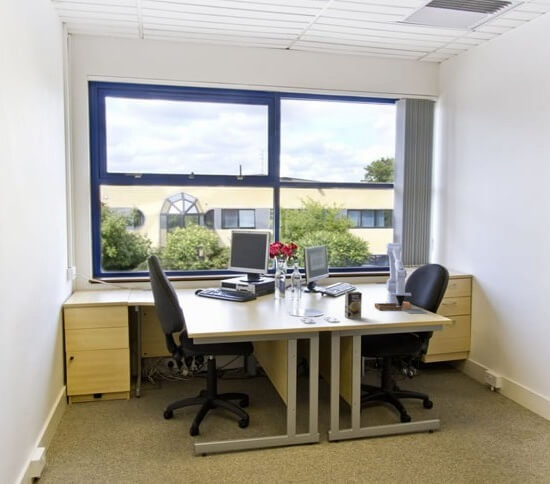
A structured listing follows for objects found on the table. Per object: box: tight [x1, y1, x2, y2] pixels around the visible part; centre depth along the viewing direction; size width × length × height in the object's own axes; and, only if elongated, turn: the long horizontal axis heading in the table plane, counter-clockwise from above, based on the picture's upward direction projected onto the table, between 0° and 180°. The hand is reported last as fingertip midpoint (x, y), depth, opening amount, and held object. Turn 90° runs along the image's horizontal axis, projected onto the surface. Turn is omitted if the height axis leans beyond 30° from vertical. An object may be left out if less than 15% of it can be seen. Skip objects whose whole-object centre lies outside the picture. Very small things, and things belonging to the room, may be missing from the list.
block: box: [402, 301, 412, 310], centre depth 337 cm, size 5×5×4 cm
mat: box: [402, 308, 428, 315], centre depth 328 cm, size 12×12×1 cm
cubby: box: [374, 302, 403, 312], centre depth 336 cm, size 12×16×2 cm
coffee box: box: [344, 291, 363, 320], centre depth 309 cm, size 9×6×16 cm
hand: (400, 306), depth 337 cm, fingers closed
